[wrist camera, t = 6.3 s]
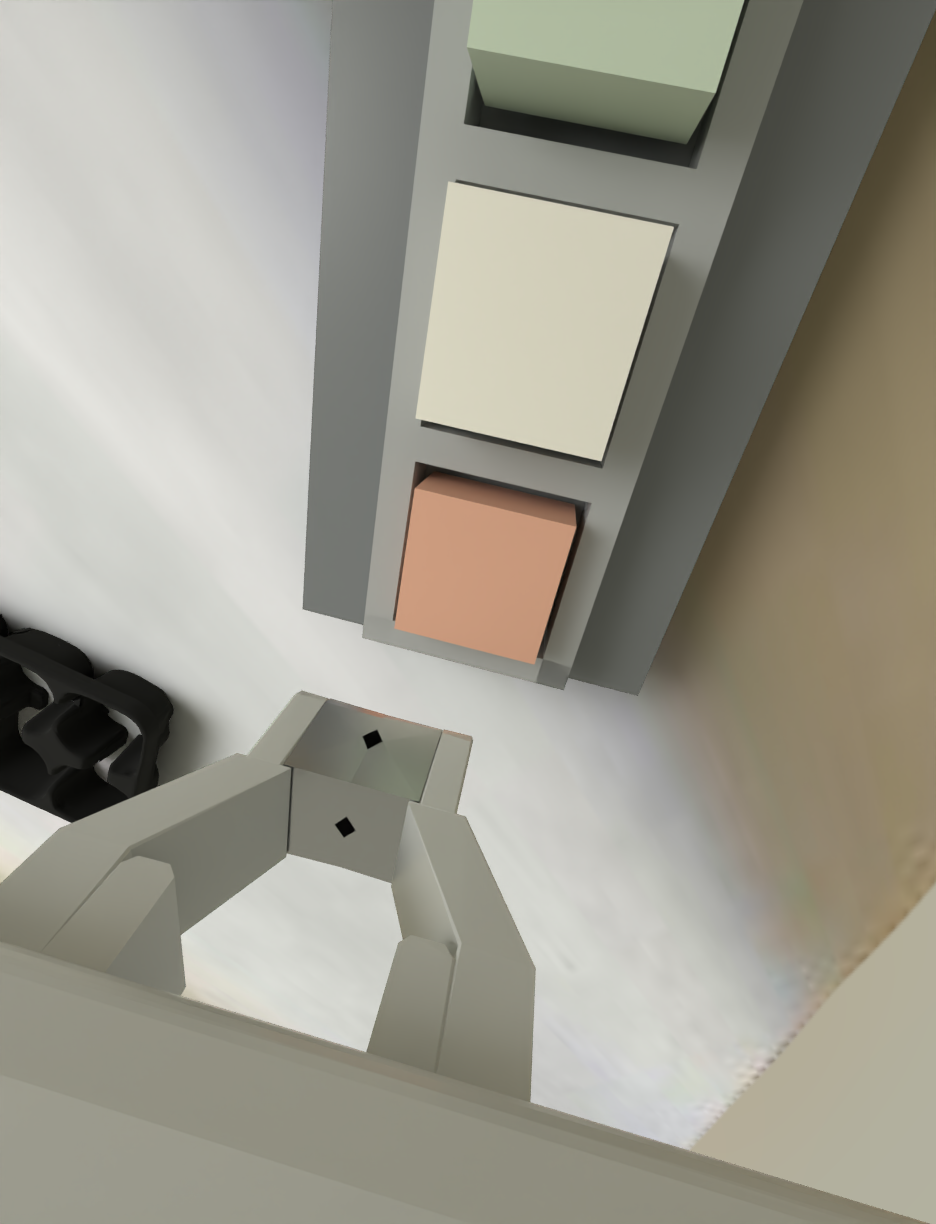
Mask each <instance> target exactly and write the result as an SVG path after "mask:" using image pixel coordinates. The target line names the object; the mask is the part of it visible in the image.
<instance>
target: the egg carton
mask: <svg viewBox="0 0 936 1224" xmlns="http://www.w3.org/2000/svg"><path fill="white" fill-rule="evenodd" d="M14 632H15V633H16V634H13V635H10V636H8V627H7V624H6V622H5V620H4V618H3V617H2V614H1V615H0V790H1V791H3V792H5V793H8V794H10V795H12V796H14V797H16V798H18V799H21V800H23V801H25V802H27V803H29V804H31V805H34V806H36V807H38V808H40V809H43V810H45V811H47V812H49V813H51V814H53V815H56V816H58V817H60V818H62V819H64V820H66V821H69V822H71V823H73V822H76V821H78V820H80V819H83V818H85V817H88V816H90V815H92V814H95V813H97V812H99V811H102V810H104V809H106V808H109V807H111V806H114V805H116V804H118V803H121V802H123V801H125V800H128V799H130V798H132V797H135V796H137V795H140V794H142V793H144V792H147V791H149V790H151V789H154V788H156V787H157V785H158V778H159V773H158V769H157V766H156V759H157V755H158V751H159V748H160V747H161V746H162V744H163V743H164V742H165V741H166V740H167V738H168V736H169V733H170V731H169V720H170V718H171V717H172V715H173V711H174V709H173V706H172V705H171V704H170V702H169V700H168V698H167V697H166V695H165V693H164V692H163V691H162V690H161V689H160V688H158V687H157V686H155V685H153V684H152V683H150V682H148V681H146V680H145V679H143V678H141V677H139V676H137V675H135V674H133V673H131V672H128V671H124V670H112V671H109V672H108V673H106V674H104V675H102V676H100V677H98V678H96V679H95V680H94V679H93V668H92V665H91V663H90V661H89V659H88V658H87V656H86V655H85V654H84V653H83V652H82V651H81V650H80V649H78V648H77V647H75V646H73V645H71V644H70V643H68V641H67V642H66V641H64V640H62V639H60V638H57V637H55V636H53V635H50V634H48V633H46V632H43V631H40V630H35V629H31V628H27V629H25V628H24V629H20V630H17V631H14ZM17 632H18V633H17ZM11 633H13V632H11ZM21 665H22V666H24V667H26V668H28V669H29V670H31V671H33V672H35V673H36V674H38V675H39V676H40V677H41V678H42V679H43V680H44V681H45V682H46V683H47V684H48V686H49V688H50V690H51V692H52V693H53V696H54V702H52V703H51V704H50V705H49V706H47V704H48V698H49V695H48V692H47V691H46V689H44V688H43V687H41V686H39V685H37V684H35V683H34V682H32V681H31V680H30V679H29V678H28V677H27V676H26V675H25V674H24V672H23V670H22V668H21ZM103 704H104V705H106V706H108V707H110V708H112V709H114V710H116V711H118V712H120V713H122V714H124V715H125V716H127V717H129V718H130V719H131V720H132V721H133V722H134V723H136V725H137V726H138V727H139V729H140V731H141V734H142V735H140V734H139V735H138V736H137V737H136V738H135V739H134V740H133V741H132V742H131V743H130V745H129V746H128V747H127V748H126V749H125V750H124V751H123V752H122V753H121V754H120V755H119V756H118V757H117V758H116V760H115V761H114V762H113V763H112V764H111V765H110V768H109V772H108V777H107V781H108V782H109V783H110V784H109V783H107V782H105V781H104V780H102V779H101V778H100V777H99V776H98V775H97V773H96V772H95V770H94V767H93V765H95V764H96V763H97V762H98V761H99V762H100V761H102V760H103V759H104V758H106V757H108V756H109V755H111V754H112V753H113V752H115V751H116V750H118V749H119V748H120V747H122V746H123V745H124V744H126V741H127V736H128V731H127V729H126V728H125V727H124V726H123V725H121V724H119V723H117V722H115V721H114V720H113V719H111V718H110V717H109V715H108V713H109V709H108V708H107V707H105V706H104V705H103ZM46 706H47V707H46ZM26 707H33V708H35V709H38V710H40V709H43V708H44V707H46V708H45V709H44V710H43V711H41V712H40V713H39V714H37V715H36V716H35V717H33V718H32V719H31V720H29V721H28V722H27V723H26V724H25V725H24V727H23V730H22V738H21V736H20V734H19V732H18V711H20V710H22V709H24V708H26Z"/></svg>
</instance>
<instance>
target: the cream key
mask: <svg viewBox="0 0 936 1224" xmlns="http://www.w3.org/2000/svg"><path fill="white" fill-rule="evenodd" d="M673 229H674V227H672V226H667V225H662V224H657V223H652V222H647V221H642V220H637V219H632V218H627V217H623V216H618V215H613V214H608V213H603V212H598V211H593V210H588V209H583V208H578V207H573V206H568V205H563V204H558V203H553V202H548V201H543V200H538V199H533V198H528V197H523V196H519V195H514V194H509V193H504V192H499V191H494V190H489V189H484V188H479V187H474V186H469V185H464V184H459V183H454V182H449V181H448V186H447V194H446V201H445V208H444V215H443V222H442V230H441V237H440V244H439V251H438V259H437V266H436V273H435V280H434V288H433V295H432V302H431V309H430V317H429V324H428V331H427V338H426V346H425V353H424V360H423V367H422V374H421V382H420V389H419V396H418V403H417V411H416V419H421V420H425V421H429V422H434V423H438V424H442V425H446V426H451V427H455V428H459V429H464V430H468V431H472V432H477V433H481V434H485V435H490V436H494V437H498V438H503V439H507V440H511V441H516V442H520V443H524V444H529V445H533V446H537V447H542V448H546V449H550V450H554V451H559V452H563V453H567V454H572V455H576V456H580V457H585V458H589V459H593V460H598V461H602V458H603V454H604V451H605V448H606V445H607V442H608V438H609V435H610V432H611V429H612V425H613V422H614V419H615V416H616V413H617V409H618V406H619V403H620V400H621V396H622V393H623V390H624V387H625V384H626V380H627V377H628V374H629V371H630V367H631V364H632V361H633V358H634V355H635V351H636V348H637V345H638V342H639V338H640V335H641V332H642V329H643V326H644V322H645V319H646V316H647V313H648V309H649V306H650V303H651V300H652V297H653V293H654V290H655V287H656V284H657V280H658V277H659V274H660V271H661V268H662V264H663V261H664V258H665V255H666V251H667V248H668V245H669V242H670V239H671V235H672V232H673Z"/></svg>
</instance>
